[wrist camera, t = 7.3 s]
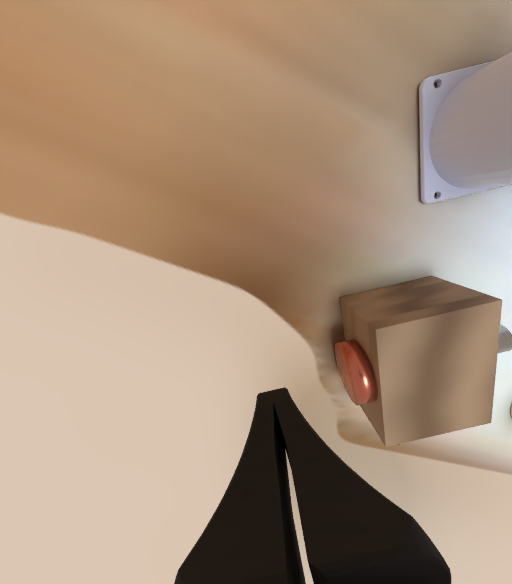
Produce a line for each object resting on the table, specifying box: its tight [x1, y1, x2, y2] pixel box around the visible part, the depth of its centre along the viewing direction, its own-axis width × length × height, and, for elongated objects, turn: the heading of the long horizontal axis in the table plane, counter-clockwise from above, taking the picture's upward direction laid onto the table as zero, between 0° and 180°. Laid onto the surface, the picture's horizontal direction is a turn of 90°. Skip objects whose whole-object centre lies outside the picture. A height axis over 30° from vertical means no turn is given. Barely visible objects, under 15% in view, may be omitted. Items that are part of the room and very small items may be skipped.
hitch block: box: [340, 276, 502, 447], centre depth 20 cm, size 8×10×6 cm
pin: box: [335, 325, 512, 405], centre depth 20 cm, size 12×5×5 cm, turn 103°
